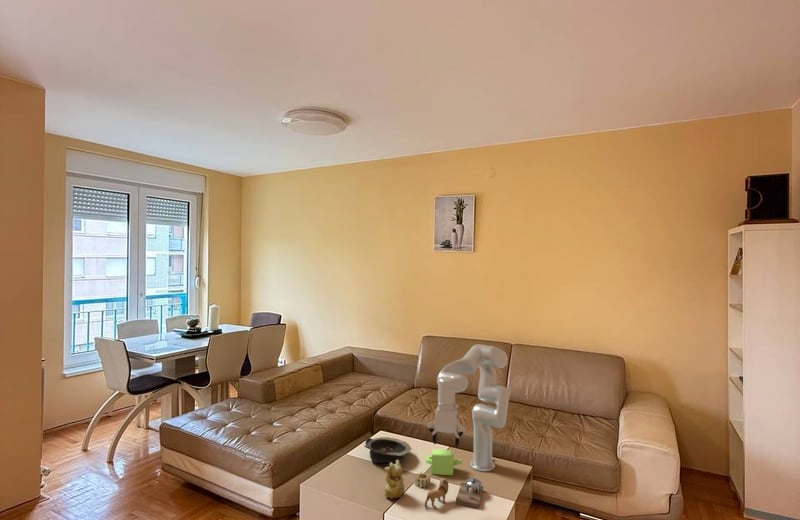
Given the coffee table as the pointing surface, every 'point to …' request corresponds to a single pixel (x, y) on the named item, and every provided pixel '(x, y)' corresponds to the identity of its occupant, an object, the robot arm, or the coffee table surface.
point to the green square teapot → (442, 462)
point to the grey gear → (473, 485)
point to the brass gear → (422, 480)
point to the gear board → (468, 497)
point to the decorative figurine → (394, 481)
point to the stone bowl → (387, 449)
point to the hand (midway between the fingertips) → (445, 444)
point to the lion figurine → (437, 493)
